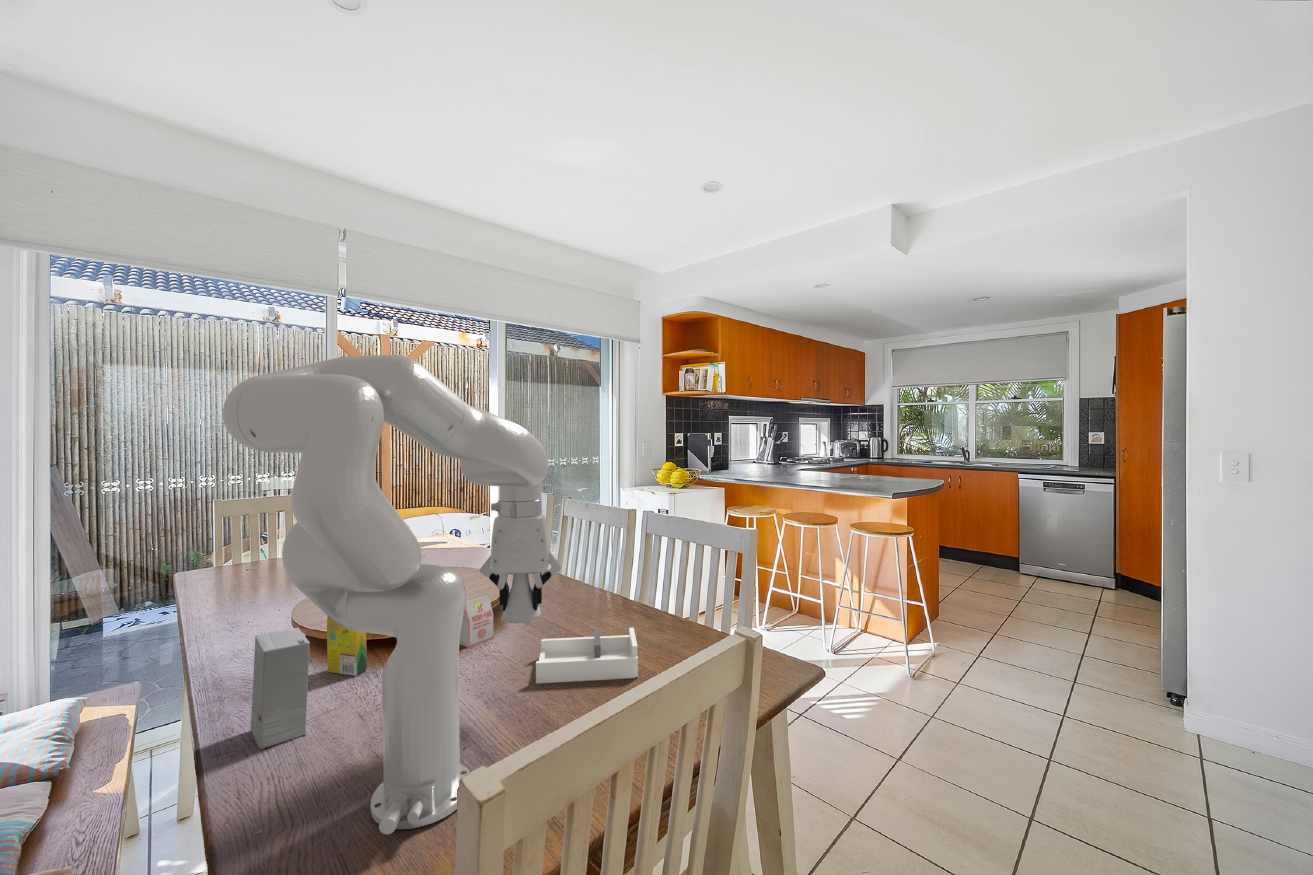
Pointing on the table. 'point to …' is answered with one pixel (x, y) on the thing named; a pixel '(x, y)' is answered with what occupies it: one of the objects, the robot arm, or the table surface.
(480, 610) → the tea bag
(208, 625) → the table surface
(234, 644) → the table surface
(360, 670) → the crayon box
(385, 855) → the table surface
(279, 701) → the skincare box
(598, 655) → the pusher
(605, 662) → the tray
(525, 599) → the flask
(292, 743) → the table surface
